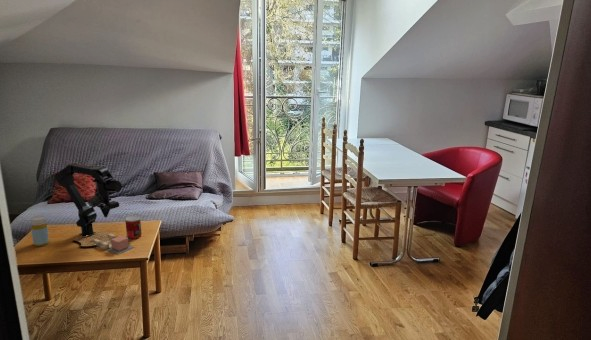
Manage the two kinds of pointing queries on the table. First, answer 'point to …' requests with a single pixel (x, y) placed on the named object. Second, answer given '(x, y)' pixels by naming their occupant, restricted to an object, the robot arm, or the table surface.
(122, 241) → the block
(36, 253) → the table surface
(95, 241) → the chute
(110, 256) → the table surface
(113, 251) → the mat
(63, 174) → the robot arm
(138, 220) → the canned food
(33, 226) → the bottle
